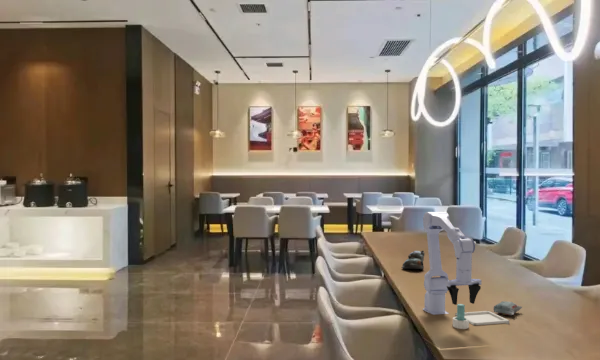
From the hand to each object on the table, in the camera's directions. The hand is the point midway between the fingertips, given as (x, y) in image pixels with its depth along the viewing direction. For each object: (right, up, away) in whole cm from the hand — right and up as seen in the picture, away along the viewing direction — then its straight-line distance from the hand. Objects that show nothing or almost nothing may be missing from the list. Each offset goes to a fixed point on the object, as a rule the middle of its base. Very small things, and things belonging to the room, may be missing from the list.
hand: (463, 303), depth 195 cm
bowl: (-1, -10, +1) cm, 10 cm away
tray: (+11, -10, +11) cm, 19 cm away
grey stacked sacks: (+7, -8, +116) cm, 117 cm away
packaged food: (+27, -10, +21) cm, 35 cm away
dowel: (-1, -9, +1) cm, 9 cm away
